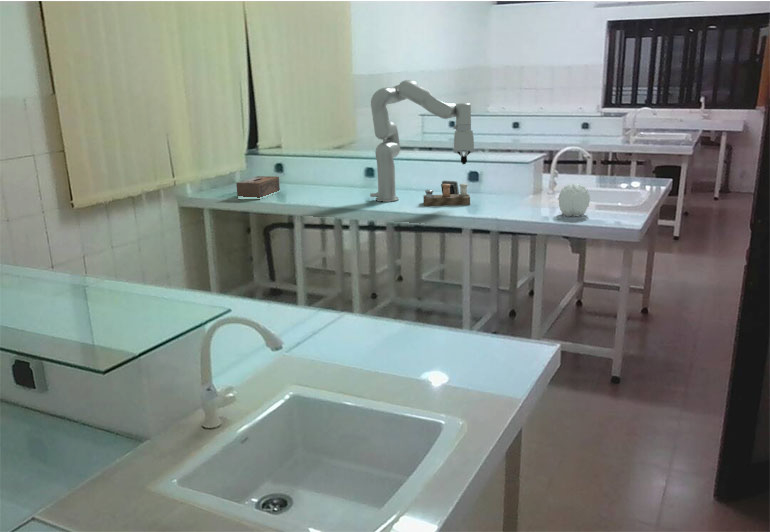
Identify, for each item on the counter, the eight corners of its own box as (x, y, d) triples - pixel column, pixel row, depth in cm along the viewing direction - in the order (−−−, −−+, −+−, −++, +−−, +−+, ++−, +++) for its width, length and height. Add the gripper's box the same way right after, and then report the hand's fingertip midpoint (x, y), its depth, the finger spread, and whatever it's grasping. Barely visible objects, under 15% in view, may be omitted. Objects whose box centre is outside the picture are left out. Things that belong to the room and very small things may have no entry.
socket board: (423, 206, 340) (423, 198, 339) (423, 202, 350) (423, 195, 349) (470, 204, 339) (470, 197, 338) (468, 201, 349) (468, 194, 348)
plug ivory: (459, 198, 341) (459, 184, 339) (459, 196, 345) (459, 183, 343) (467, 197, 341) (467, 184, 339) (467, 196, 345) (467, 183, 343)
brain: (556, 229, 311) (556, 203, 298) (560, 202, 321) (559, 176, 308) (588, 230, 306) (588, 204, 293) (590, 202, 317) (591, 176, 304)
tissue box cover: (258, 192, 403) (257, 176, 400) (280, 192, 398) (278, 176, 396) (237, 199, 379) (236, 182, 376) (260, 200, 375) (258, 183, 372)
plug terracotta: (442, 198, 342) (442, 185, 340) (442, 197, 346) (442, 183, 344) (450, 198, 342) (450, 185, 340) (450, 196, 346) (450, 183, 344)
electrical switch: (459, 196, 363) (458, 180, 360) (455, 199, 359) (454, 182, 356) (444, 195, 368) (443, 179, 365) (440, 198, 364) (439, 181, 361)
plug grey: (425, 204, 343) (425, 191, 341) (425, 202, 347) (425, 189, 345) (433, 204, 343) (433, 190, 341) (433, 202, 347) (433, 189, 345)
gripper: (449, 129, 330) (449, 165, 335) (479, 127, 329) (479, 164, 334) (448, 128, 337) (449, 163, 342) (477, 126, 337) (477, 162, 342)
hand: (463, 163), depth 338 cm, fingers closed
